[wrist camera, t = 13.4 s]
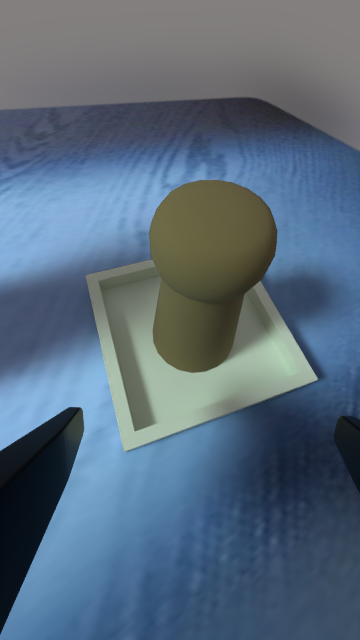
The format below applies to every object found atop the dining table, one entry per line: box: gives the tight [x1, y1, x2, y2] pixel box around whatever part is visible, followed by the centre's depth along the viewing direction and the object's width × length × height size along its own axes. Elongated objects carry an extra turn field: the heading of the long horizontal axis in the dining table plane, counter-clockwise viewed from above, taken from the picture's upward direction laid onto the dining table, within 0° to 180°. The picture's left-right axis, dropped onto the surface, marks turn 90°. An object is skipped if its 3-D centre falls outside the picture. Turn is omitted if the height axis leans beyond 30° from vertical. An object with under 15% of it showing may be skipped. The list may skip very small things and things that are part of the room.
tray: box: [85, 259, 318, 452], centre depth 19 cm, size 13×13×2 cm
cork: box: [149, 180, 277, 373], centre depth 14 cm, size 6×6×11 cm
